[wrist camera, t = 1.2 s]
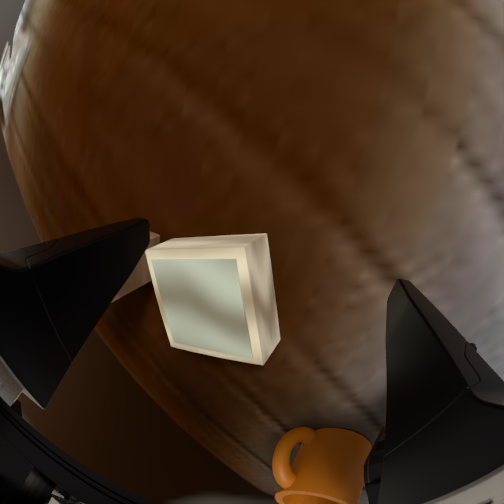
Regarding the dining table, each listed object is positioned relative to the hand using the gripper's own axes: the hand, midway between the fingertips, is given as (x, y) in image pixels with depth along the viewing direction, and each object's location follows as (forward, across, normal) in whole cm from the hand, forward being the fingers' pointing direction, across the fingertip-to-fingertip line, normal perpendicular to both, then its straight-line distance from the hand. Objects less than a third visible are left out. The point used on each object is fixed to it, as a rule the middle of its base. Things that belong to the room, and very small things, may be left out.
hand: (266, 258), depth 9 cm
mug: (+6, -11, +27) cm, 30 cm away
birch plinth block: (+12, +5, +12) cm, 18 cm away
